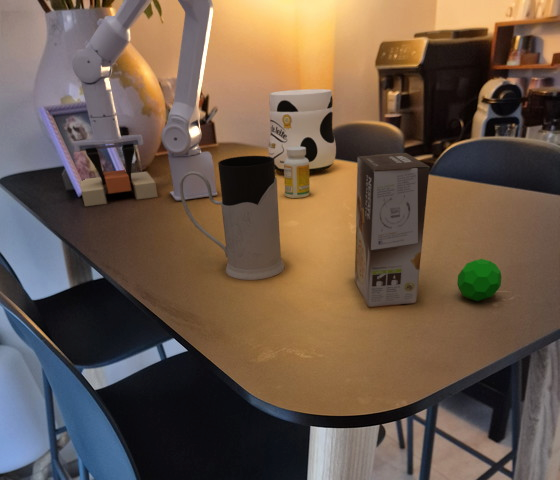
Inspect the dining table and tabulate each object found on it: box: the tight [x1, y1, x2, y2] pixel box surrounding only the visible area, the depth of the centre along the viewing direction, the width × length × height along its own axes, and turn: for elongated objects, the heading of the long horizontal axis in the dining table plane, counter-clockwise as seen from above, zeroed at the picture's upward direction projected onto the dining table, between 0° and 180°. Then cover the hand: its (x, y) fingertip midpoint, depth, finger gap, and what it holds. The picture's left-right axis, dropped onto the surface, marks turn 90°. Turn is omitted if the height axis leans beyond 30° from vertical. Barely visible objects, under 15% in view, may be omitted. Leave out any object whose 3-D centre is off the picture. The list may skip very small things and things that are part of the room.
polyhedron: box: [456, 258, 502, 302], centre depth 62 cm, size 5×5×5 cm
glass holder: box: [180, 155, 285, 281], centre depth 72 cm, size 9×14×15 cm, turn 80°
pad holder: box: [79, 171, 158, 208], centre depth 120 cm, size 16×14×3 cm
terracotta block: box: [103, 169, 132, 195], centre depth 117 cm, size 5×8×3 cm, turn 20°
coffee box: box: [354, 152, 431, 308], centre depth 63 cm, size 9×6×16 cm
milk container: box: [267, 88, 337, 174], centre depth 129 cm, size 17×17×18 cm
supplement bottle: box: [283, 146, 310, 199], centre depth 109 cm, size 5×5×10 cm
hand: (117, 182), depth 117 cm, fingers closed on terracotta block, 5 cm apart
